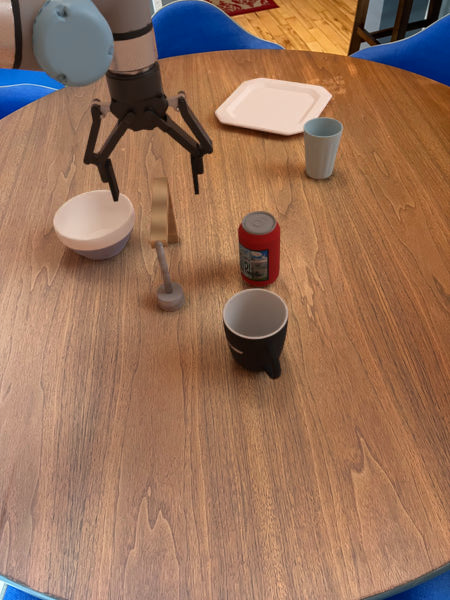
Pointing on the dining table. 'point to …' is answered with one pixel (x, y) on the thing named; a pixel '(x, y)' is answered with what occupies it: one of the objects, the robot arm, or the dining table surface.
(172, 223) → the ladle
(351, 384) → the dining table surface
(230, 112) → the plate
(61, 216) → the bowl
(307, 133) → the cup
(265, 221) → the beverage can
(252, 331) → the mug
